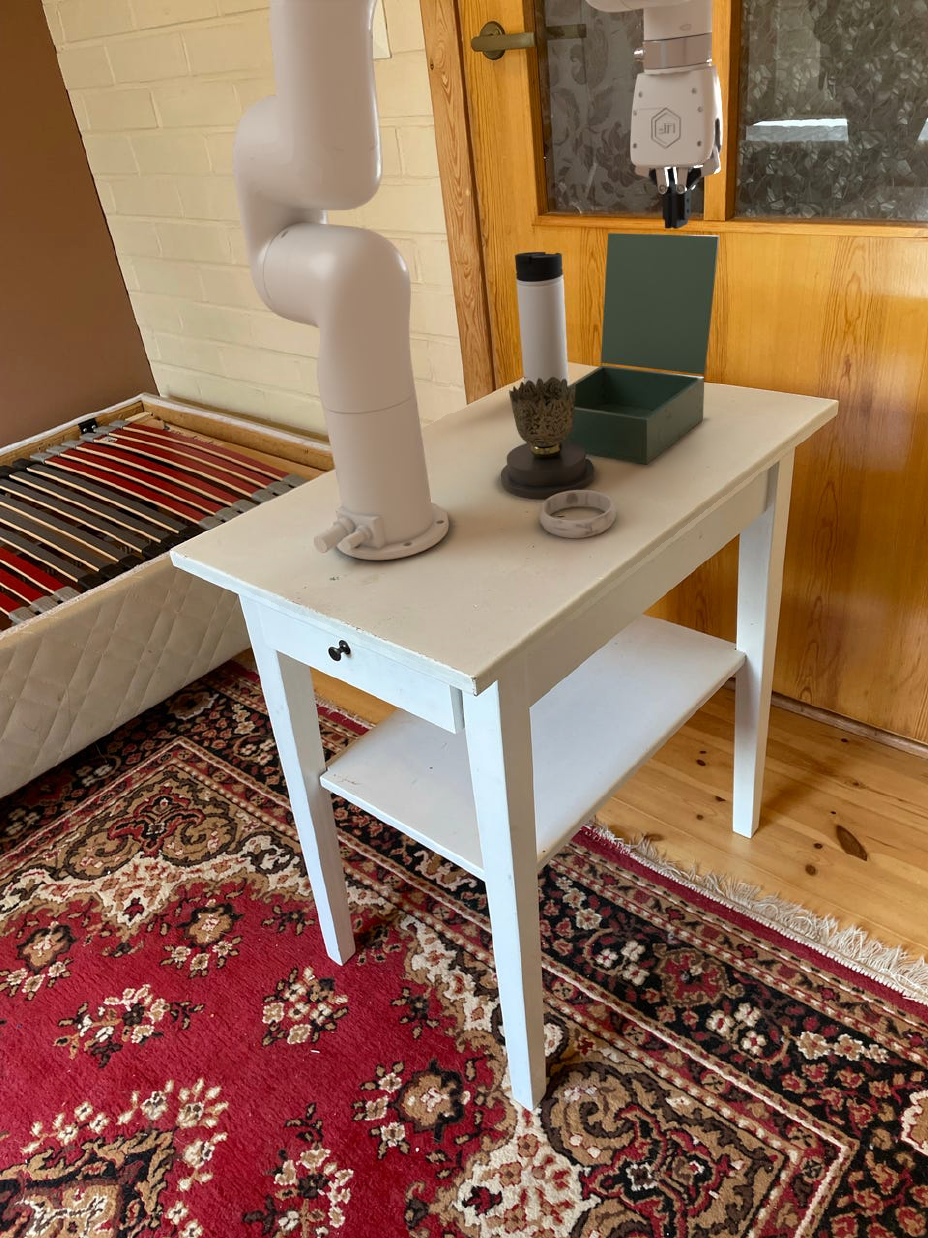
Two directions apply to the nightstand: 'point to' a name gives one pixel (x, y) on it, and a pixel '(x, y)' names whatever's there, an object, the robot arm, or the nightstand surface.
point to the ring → (579, 526)
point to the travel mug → (542, 316)
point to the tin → (634, 412)
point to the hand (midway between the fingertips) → (676, 225)
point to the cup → (544, 414)
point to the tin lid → (659, 301)
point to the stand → (546, 471)
